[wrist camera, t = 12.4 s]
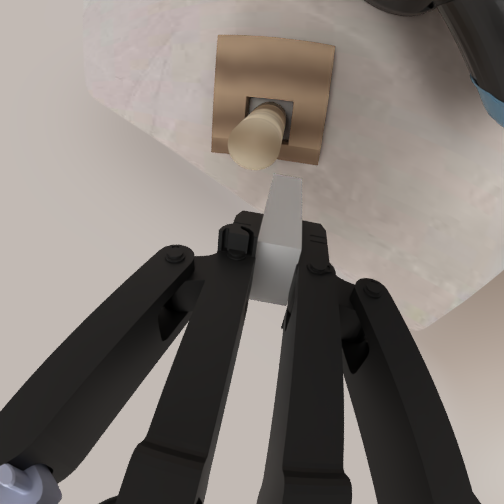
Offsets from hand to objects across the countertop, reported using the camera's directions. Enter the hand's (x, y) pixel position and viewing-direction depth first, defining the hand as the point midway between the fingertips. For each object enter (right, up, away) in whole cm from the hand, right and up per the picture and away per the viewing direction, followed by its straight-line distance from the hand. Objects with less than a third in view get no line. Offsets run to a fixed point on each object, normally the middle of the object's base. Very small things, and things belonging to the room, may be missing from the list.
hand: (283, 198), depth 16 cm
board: (+1, +17, +19) cm, 26 cm away
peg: (+1, +15, +21) cm, 25 cm away
